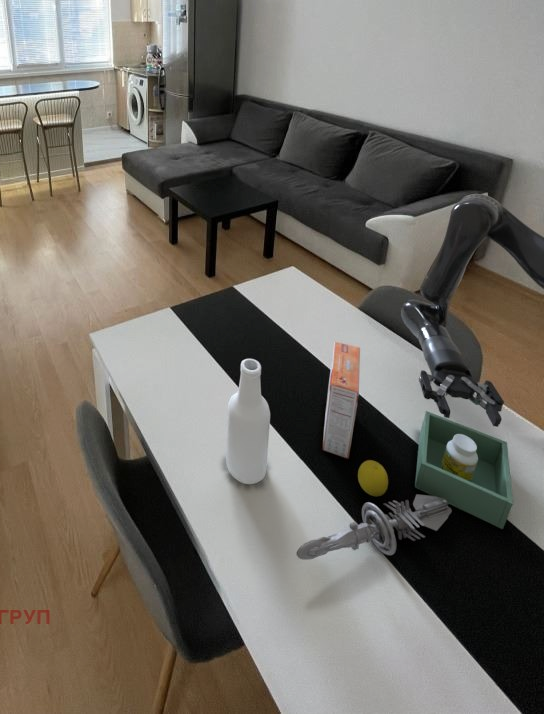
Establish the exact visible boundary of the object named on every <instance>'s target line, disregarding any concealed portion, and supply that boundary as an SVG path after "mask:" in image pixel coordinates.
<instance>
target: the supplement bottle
mask: <svg viewBox="0 0 544 714" xmlns="http://www.w3.org/2000/svg"><path fill="white" fill-rule="evenodd" d="M476 450H477V446H476V444H475V442H474V441H473V440H472V439H471V438H469V437H467V436H465V435H463V434H456V435H454V437H453V439H452V440H451V441H449V442H448V443H447V446H446V450H445V453H444V457H443V460H442V464H441V469H443V470H445V471H447V472H449V473H452V474H454V475H456V476H458V477H461V478H463V479H465V480H467V481H470V482H471V480H472V477H473V474H474V471H475V468H476V465H477V462H478V456H477V453H476Z"/></svg>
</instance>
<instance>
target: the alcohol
mask: <svg viewBox="0 0 544 714" xmlns="http://www.w3.org/2000/svg"><path fill="white" fill-rule="evenodd" d="M261 375H262V365H261V363H260V361H258V360H256V359H254V358H245V359H243V360H242V361H241V363H240V376H239V377H240V378H239V383H238V390H237V391H235V393H234V394H232V396H231V397H230V399H229V402H228V404H227V412H226V413H227V417H226V418H227V420H226V426H227V427H226V455H225V456H226V458H225V462H226V467H227V470H228V472H229V474H230V475H231V477H233V478H234V479H235V480H236V481H238V482H239V483H241V484H245V485H254V484H257V483H259V482H260V481H262V480H263V479H264V477H265V476H266V473H267V468H268V467H267V464H268V453H269V452H268V451H269V439H270V438H269V436H270V426H271V410H270V406H269V403H268V401H267V400H266V398H264V396H263V395H262V386H261Z"/></svg>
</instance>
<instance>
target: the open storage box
mask: <svg viewBox="0 0 544 714" xmlns="http://www.w3.org/2000/svg"><path fill="white" fill-rule="evenodd" d="M456 434H463V435H465V436H467V437H469V438H471V439H472V440H473V441H474V442H475V444H476V446H477V450H476V453H477V456H478V462H477V465H476V468H475V471H474V474H473V477H472V480H471V482H470V481H467V480H465V479H463V478H461V477H458V476H456V475H454V474H452V473H449V472H447V471H445V470H443V469H441V464H442V460H443V457H444V453H445V450H446V446H447V443H448V442H449V441H451V440H452V439H453V437H454V435H456ZM418 439H419V441H418V448H417V449H418V450H417V459H416V460H417V462H416V472H415V480H414V488H415V489H417V490H419V491H421V492H423V493H426V494H427V495H429V496H437V497H438V498H445V499H446V500H447V503H450V504H449V505H451V506H453V507H455V508H457V509H459V510H461V511H463V512H465V513H468V514H469V515H472V516H474V517H476V518H478V519H480V520H482V521H485V522H487V523H488V524H491V525H493V526H495V527H497V528H498V529H501V530H503V529H504V527H505V525H506V523H507V520H508V518H509V515H510V513H511V511H512V509H513V505H514V499H513V490H512V479H511V470H510V460H509V448H508V442H507V441H505V440H502V439H500V438H497V437H495V436H492V435H489V434H487V433H484V432H482V431H479V430H476V429H474V428H471V427H469V426H467V425H464V424H461V423H458V422H456V421H454V420H451V419H450V418H446V417H444V416H441V415H438V414H436V413H433V412H430V411H428V410H425V413H424V417H423V421H422V425H421V428H420V432H419V438H418Z"/></svg>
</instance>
